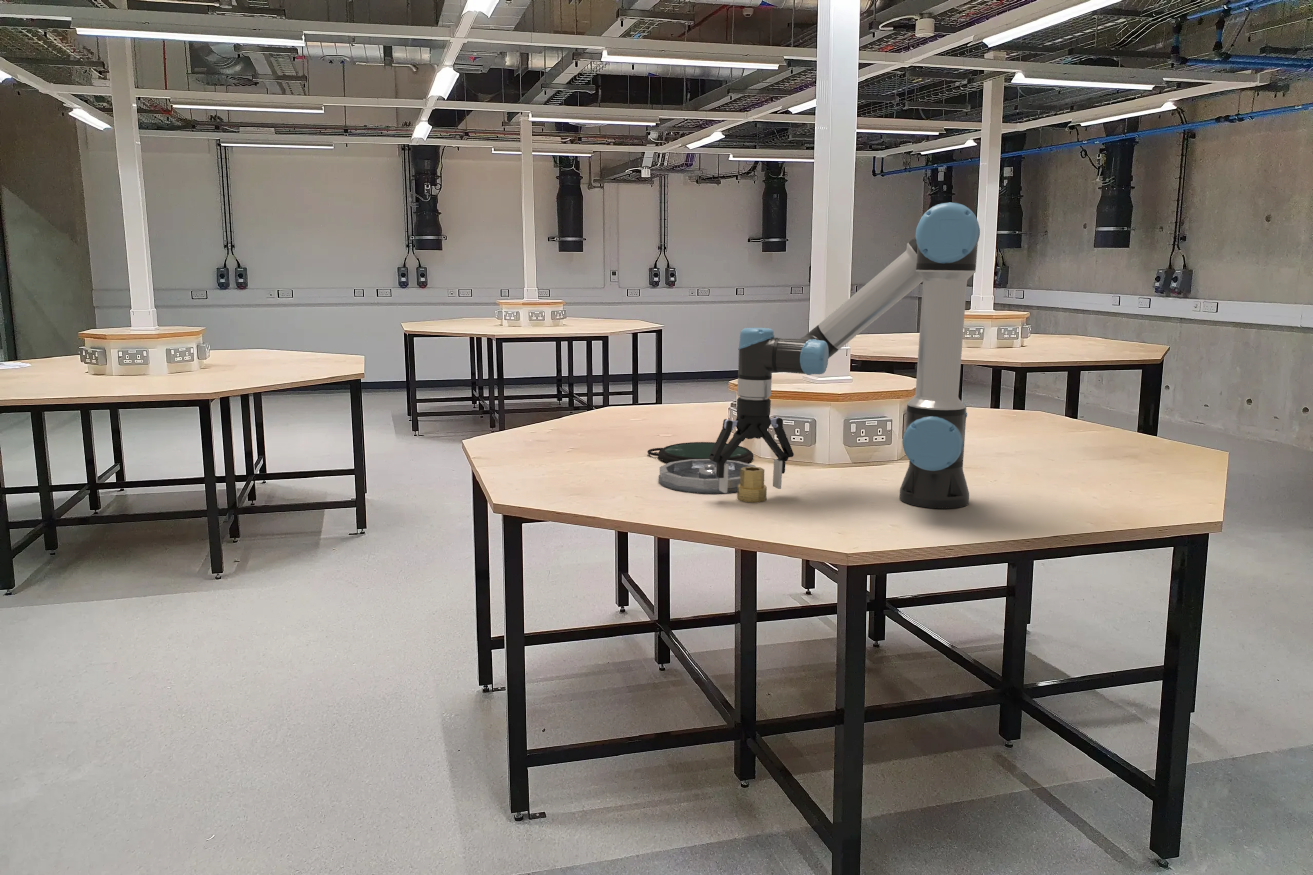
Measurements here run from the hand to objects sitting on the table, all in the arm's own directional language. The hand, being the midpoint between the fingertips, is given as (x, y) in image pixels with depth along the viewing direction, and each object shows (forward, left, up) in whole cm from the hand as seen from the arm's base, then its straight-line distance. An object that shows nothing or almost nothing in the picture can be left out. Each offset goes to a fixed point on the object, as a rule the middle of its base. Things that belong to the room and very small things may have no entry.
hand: (750, 489), depth 210 cm
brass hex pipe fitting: (0, 0, -2) cm, 2 cm away
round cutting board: (+28, -38, -3) cm, 47 cm away
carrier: (+15, -12, -2) cm, 19 cm away
